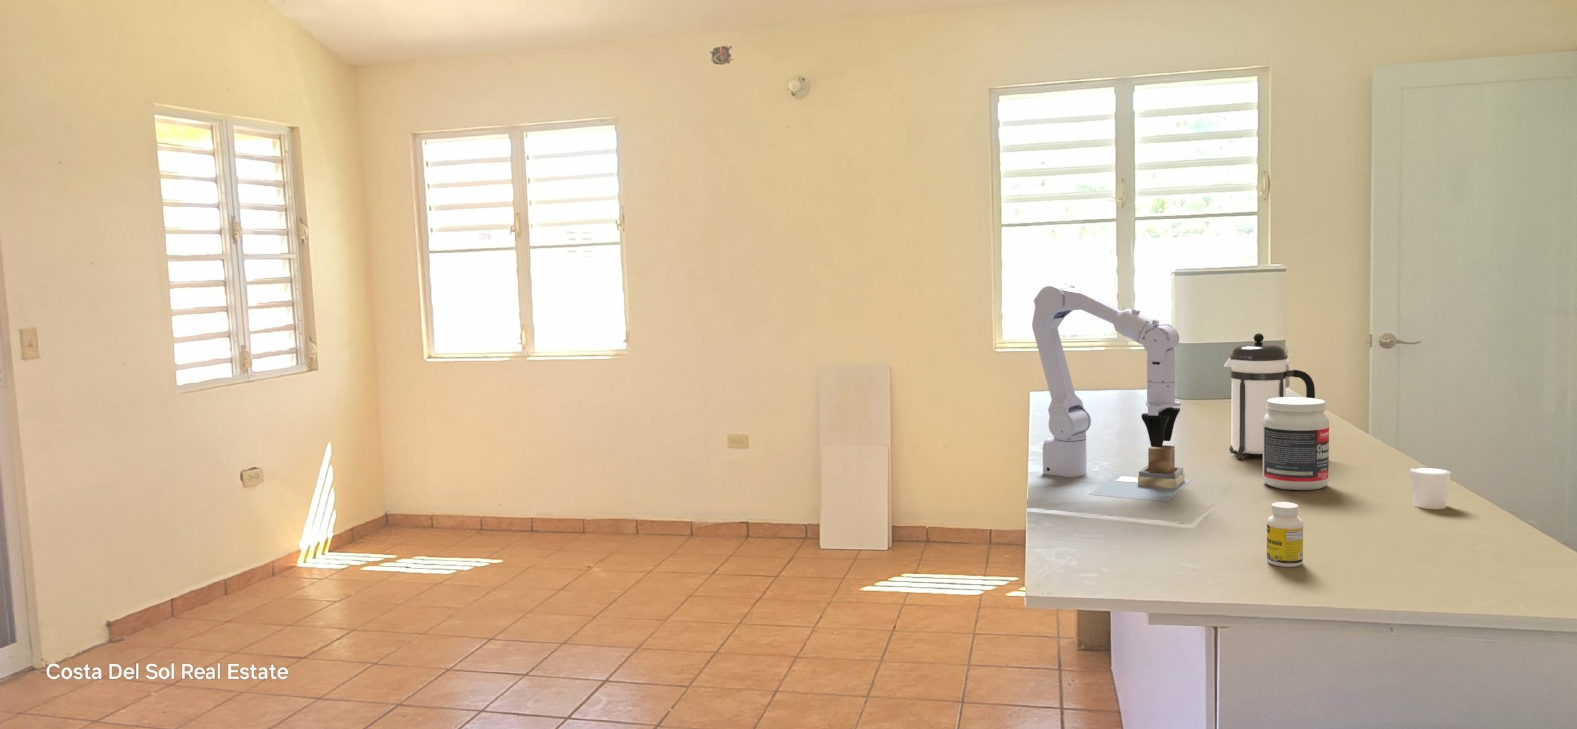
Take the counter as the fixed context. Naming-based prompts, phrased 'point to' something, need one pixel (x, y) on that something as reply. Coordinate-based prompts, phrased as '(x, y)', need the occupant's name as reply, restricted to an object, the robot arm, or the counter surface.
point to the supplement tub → (1296, 443)
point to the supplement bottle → (1285, 535)
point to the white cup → (1430, 487)
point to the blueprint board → (1144, 485)
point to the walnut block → (1161, 459)
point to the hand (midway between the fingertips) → (1160, 443)
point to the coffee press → (1257, 391)
